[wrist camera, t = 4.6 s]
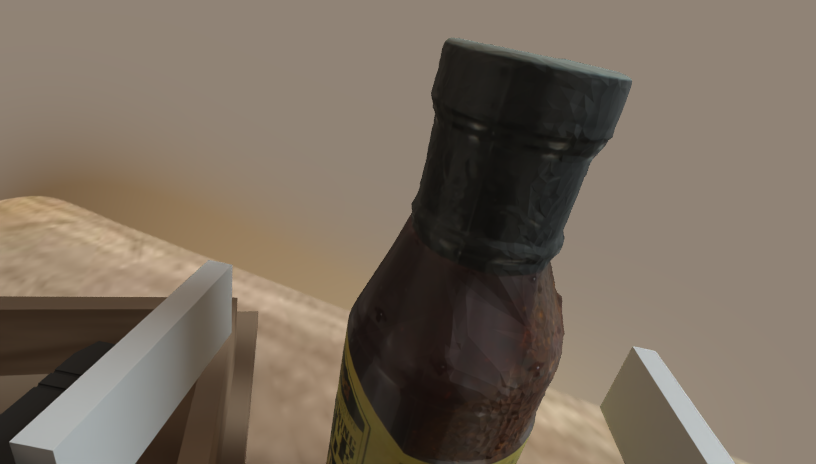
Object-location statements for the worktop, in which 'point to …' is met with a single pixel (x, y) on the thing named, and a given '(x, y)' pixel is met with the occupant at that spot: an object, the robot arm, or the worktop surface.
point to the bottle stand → (110, 322)
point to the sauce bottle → (474, 265)
